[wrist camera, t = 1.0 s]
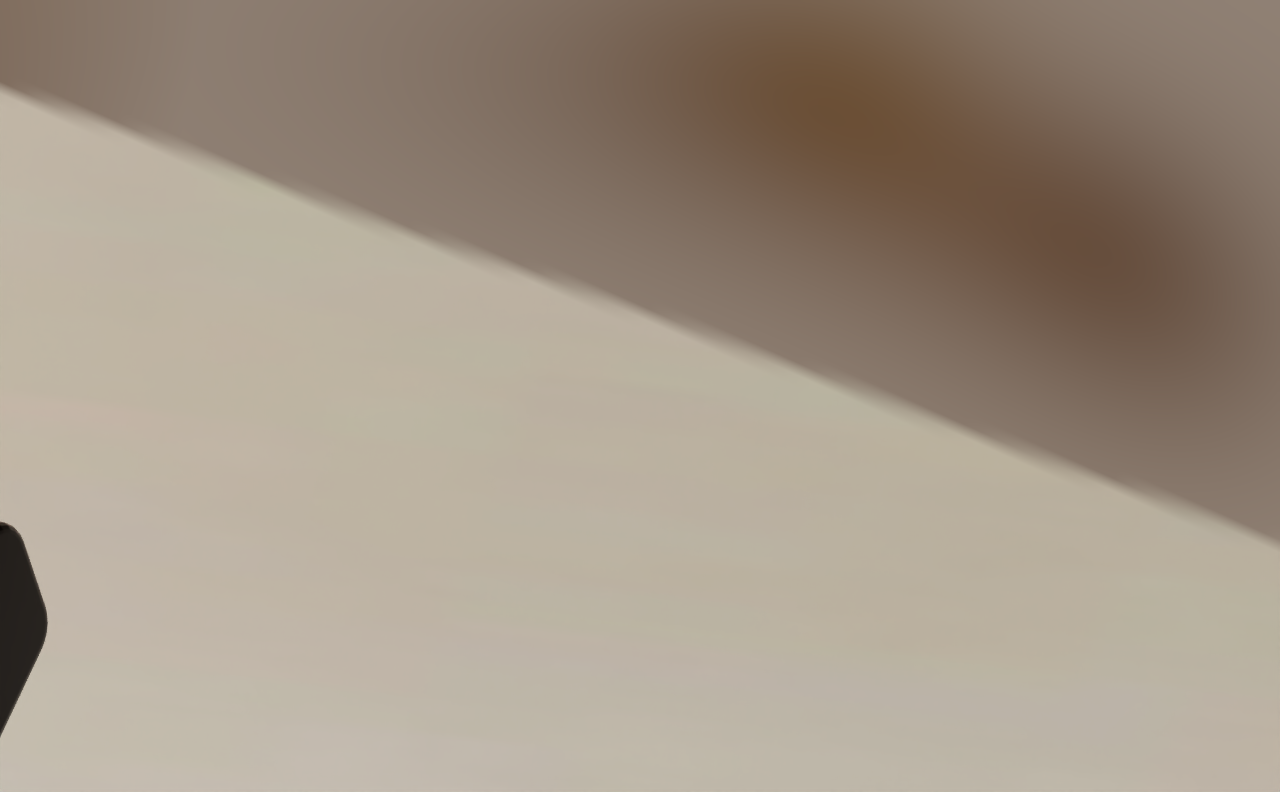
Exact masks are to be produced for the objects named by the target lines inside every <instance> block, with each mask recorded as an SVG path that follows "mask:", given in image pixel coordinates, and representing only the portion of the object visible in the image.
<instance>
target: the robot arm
mask: <svg viewBox="0 0 1280 792" xmlns="http://www.w3.org/2000/svg"><path fill="white" fill-rule="evenodd" d="M47 623H48V622H47V611H46V607H45V604H44V601H43V598H42V595H41V592H40V589H39V586H38V583H37V580H36V577H35V574H34V571H33V568H32V565H31V562H30V559H29V556H28V553H27V550H26V547H25V544H24V541H23V539H22V537H21V535H20V534H19V533H18V531H17V530H16V529H15V528H14V527H13V526H11V525H9V524H7V523H4V522H0V736H1V734H2V732H3V730H4V728H5V726H6V724H7V721H8V719H9V717H10V715H11V713H12V711H13V709H14V707H15V704H16V702H17V700H18V698H19V696H20V694H21V692H22V690H23V688H24V685H25V683H26V681H27V679H28V677H29V675H30V673H31V671H32V669H33V666H34V664H35V662H36V660H37V658H38V656H39V654H40V652H41V649H42V647H43V644H44V641H45V637H46V633H47Z"/></svg>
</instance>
